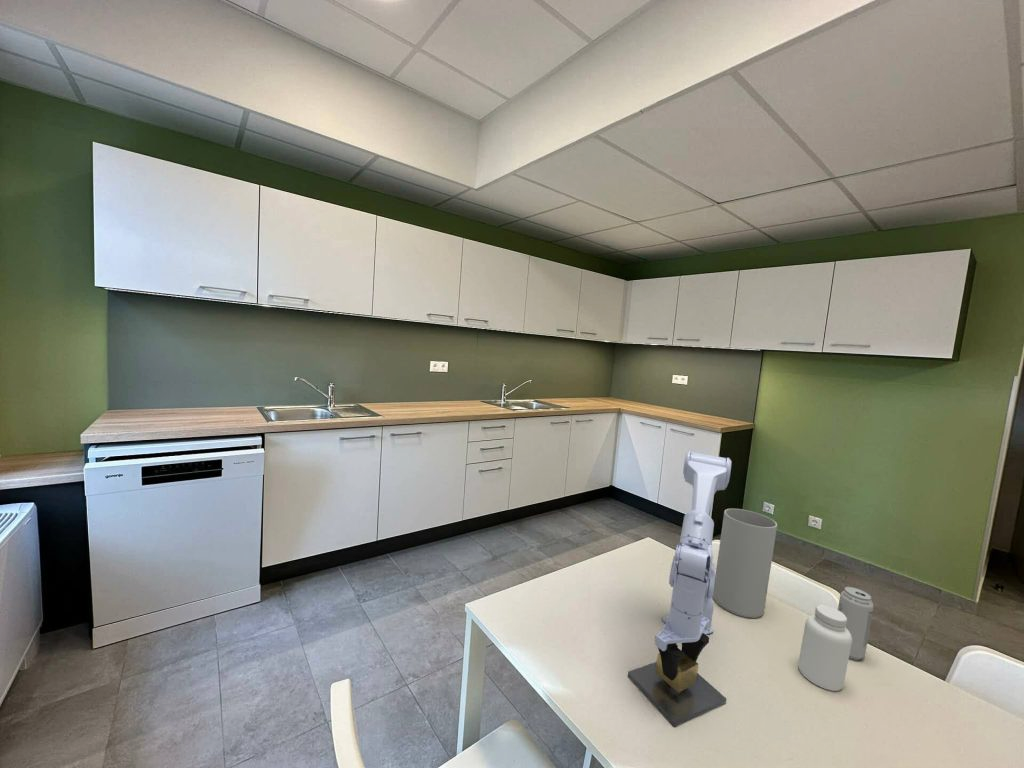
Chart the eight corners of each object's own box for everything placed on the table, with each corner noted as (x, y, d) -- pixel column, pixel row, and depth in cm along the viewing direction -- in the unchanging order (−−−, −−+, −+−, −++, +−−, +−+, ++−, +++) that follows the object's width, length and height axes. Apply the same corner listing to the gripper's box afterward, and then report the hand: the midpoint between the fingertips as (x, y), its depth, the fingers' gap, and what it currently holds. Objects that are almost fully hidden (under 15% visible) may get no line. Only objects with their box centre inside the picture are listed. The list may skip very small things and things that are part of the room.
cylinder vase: (707, 603, 111) (719, 515, 109) (718, 585, 121) (730, 505, 119) (759, 626, 103) (773, 532, 101) (767, 605, 113) (780, 519, 111)
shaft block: (676, 658, 89) (678, 641, 89) (725, 703, 78) (728, 684, 78) (627, 676, 83) (629, 657, 82) (674, 727, 72) (677, 706, 72)
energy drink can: (830, 639, 101) (840, 582, 99) (862, 651, 97) (872, 592, 96) (832, 653, 96) (842, 592, 94) (866, 666, 92) (876, 604, 91)
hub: (672, 663, 84) (674, 645, 84) (695, 682, 80) (698, 663, 79) (655, 672, 81) (657, 653, 81) (678, 692, 77) (681, 673, 76)
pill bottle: (832, 697, 82) (843, 628, 81) (790, 668, 89) (800, 604, 88) (851, 685, 86) (862, 619, 85) (809, 659, 93) (819, 597, 92)
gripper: (690, 586, 86) (682, 646, 87) (645, 603, 79) (637, 669, 80) (722, 605, 80) (713, 669, 81) (677, 626, 73) (667, 696, 74)
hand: (677, 671), depth 80 cm, fingers closed on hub, 5 cm apart
